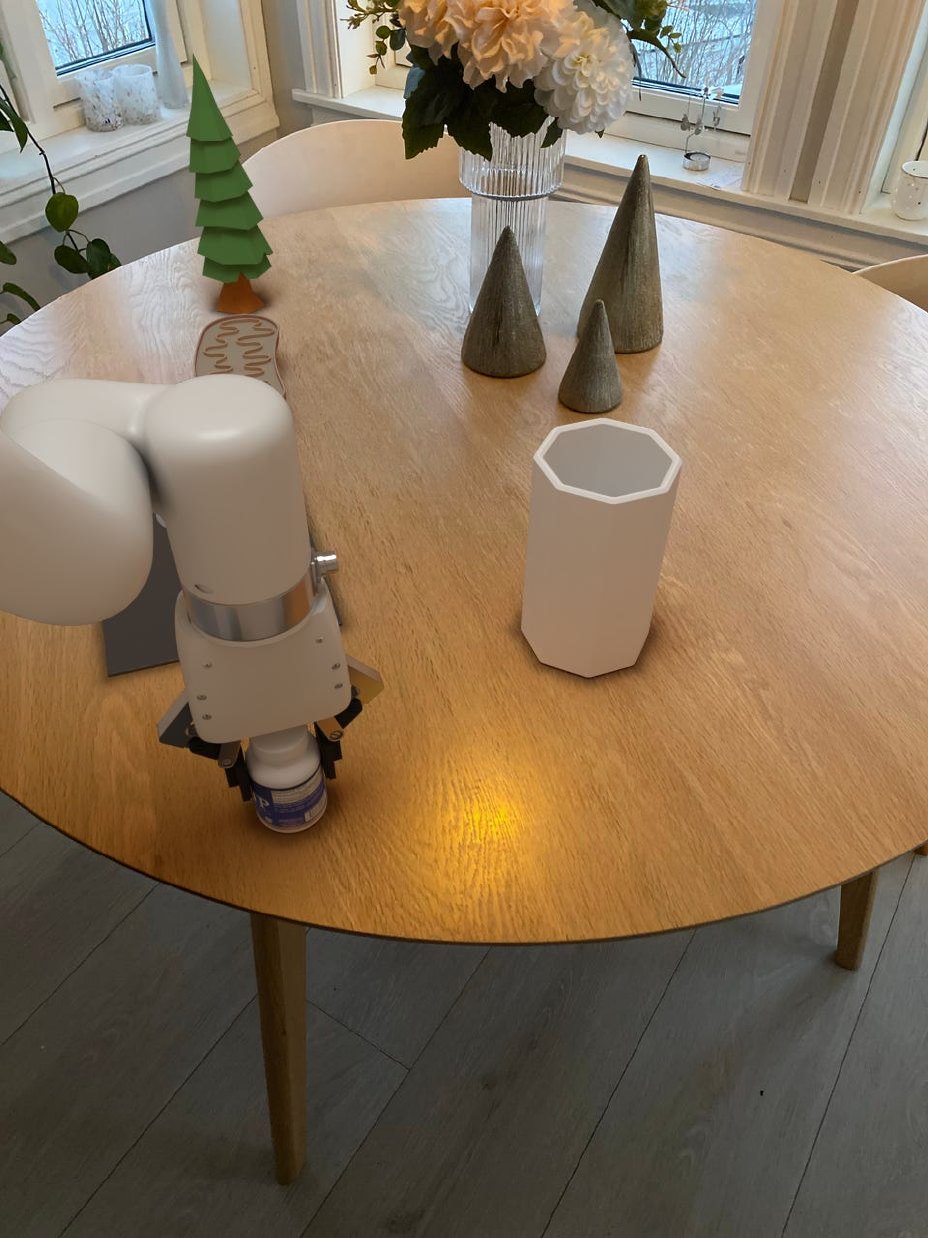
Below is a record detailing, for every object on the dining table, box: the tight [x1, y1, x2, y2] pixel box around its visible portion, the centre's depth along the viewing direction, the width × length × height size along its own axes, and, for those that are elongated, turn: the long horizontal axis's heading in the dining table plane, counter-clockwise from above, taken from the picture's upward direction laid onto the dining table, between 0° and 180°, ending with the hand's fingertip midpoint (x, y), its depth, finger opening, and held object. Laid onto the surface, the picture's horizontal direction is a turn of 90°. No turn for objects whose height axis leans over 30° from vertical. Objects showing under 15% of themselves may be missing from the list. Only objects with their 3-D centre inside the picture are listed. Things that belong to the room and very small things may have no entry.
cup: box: [520, 417, 683, 678], centre depth 78 cm, size 11×11×18 cm
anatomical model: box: [193, 313, 287, 402], centre depth 110 cm, size 23×10×5 cm, turn 11°
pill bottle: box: [244, 724, 328, 834], centre depth 68 cm, size 5×5×9 cm
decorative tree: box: [185, 53, 274, 315], centre depth 119 cm, size 10×9×30 cm
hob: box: [101, 513, 343, 677], centre depth 91 cm, size 20×25×1 cm
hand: (286, 773), depth 68 cm, fingers closed on pill bottle, 5 cm apart
